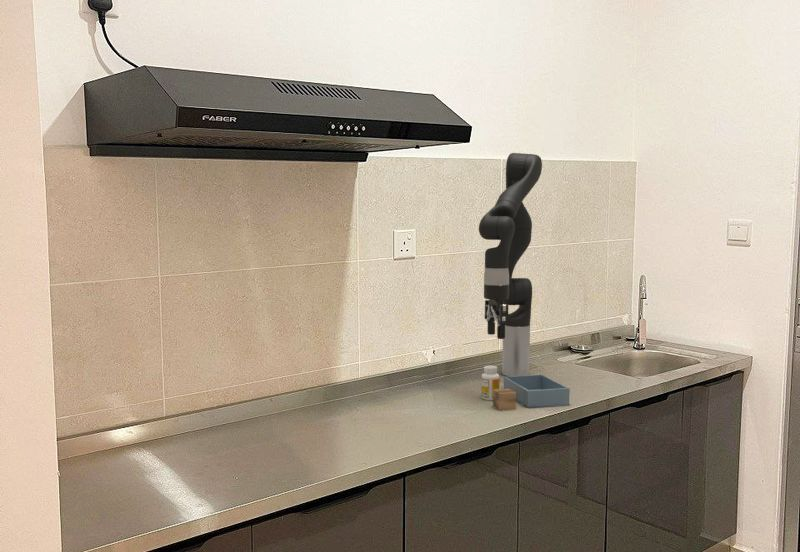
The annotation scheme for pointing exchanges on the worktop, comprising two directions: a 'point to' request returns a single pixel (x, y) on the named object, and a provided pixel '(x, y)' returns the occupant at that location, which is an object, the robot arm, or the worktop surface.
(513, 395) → the cube
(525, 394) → the tote
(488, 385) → the supplement bottle
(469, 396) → the worktop surface
